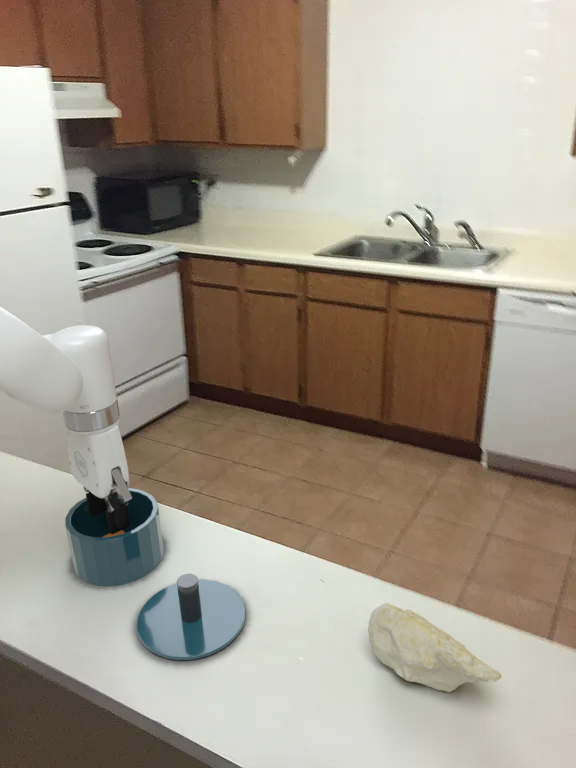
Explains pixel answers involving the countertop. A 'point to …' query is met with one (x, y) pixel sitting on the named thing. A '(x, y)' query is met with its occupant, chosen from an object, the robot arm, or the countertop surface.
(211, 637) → the lid
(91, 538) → the pot
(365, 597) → the countertop surface
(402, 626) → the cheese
